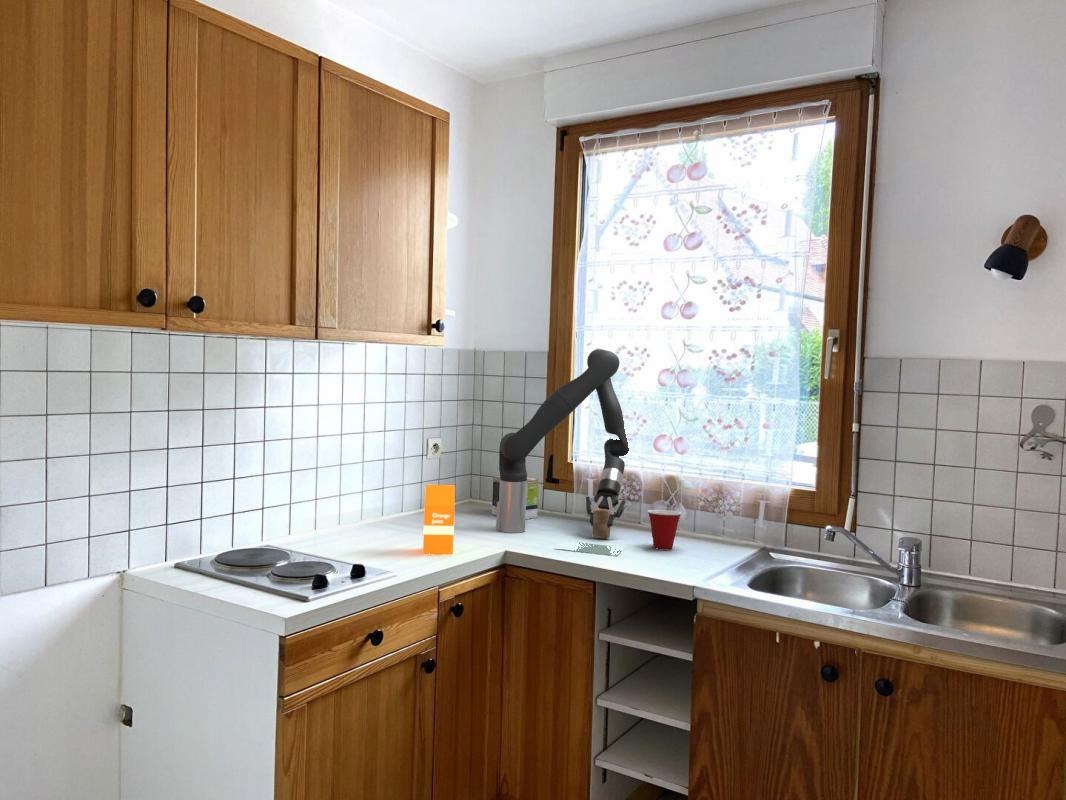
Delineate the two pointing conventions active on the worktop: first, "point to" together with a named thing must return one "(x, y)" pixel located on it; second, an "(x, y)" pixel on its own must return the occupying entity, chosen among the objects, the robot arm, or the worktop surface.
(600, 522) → the walnut block
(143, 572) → the worktop surface
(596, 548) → the mat
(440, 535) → the orange juice
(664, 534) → the plastic cup
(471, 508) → the worktop surface
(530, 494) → the tea box
